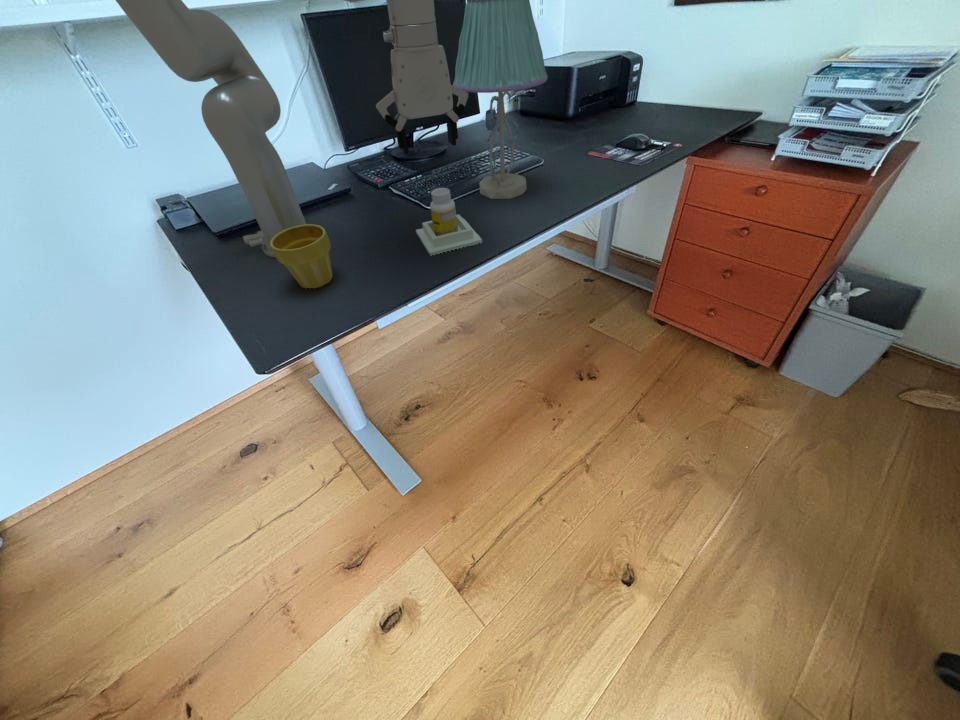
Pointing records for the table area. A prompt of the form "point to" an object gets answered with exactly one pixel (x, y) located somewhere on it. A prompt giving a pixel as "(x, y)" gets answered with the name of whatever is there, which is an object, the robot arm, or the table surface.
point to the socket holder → (448, 237)
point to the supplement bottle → (443, 212)
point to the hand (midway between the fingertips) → (429, 147)
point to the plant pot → (304, 254)
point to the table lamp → (499, 73)
